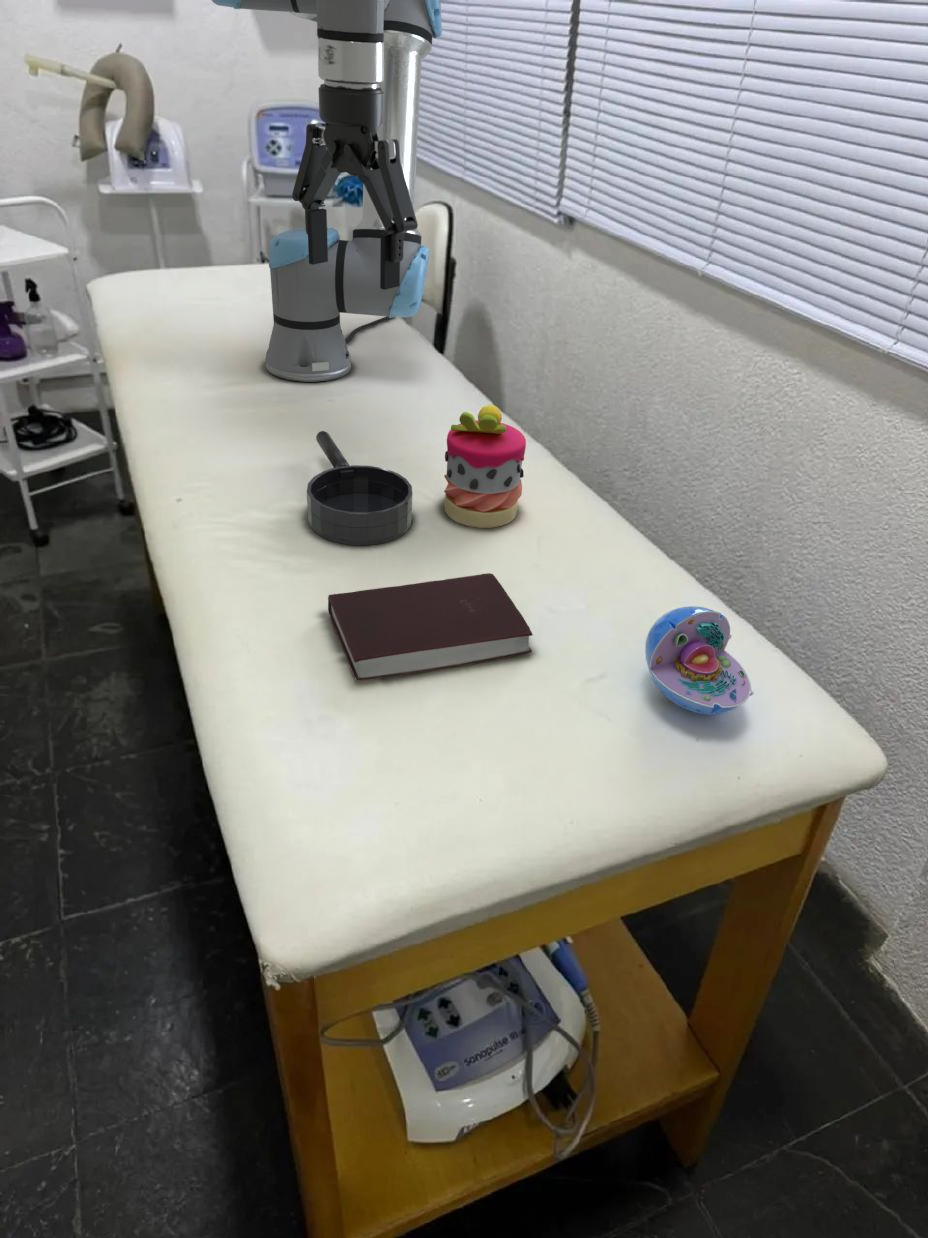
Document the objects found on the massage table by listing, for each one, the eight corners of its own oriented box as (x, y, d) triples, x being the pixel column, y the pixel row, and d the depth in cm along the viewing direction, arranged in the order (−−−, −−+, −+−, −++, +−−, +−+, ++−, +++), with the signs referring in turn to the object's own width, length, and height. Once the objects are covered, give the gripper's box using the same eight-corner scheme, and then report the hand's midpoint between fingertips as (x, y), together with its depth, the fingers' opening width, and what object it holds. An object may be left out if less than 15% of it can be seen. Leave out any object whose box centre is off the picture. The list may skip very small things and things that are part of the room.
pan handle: (354, 480, 115) (354, 467, 114) (340, 482, 114) (339, 468, 113) (328, 440, 124) (327, 428, 123) (314, 442, 124) (314, 429, 123)
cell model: (685, 748, 81) (709, 669, 75) (616, 672, 89) (633, 596, 84) (766, 723, 84) (795, 646, 79) (693, 652, 93) (714, 579, 87)
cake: (443, 489, 120) (449, 386, 111) (518, 494, 120) (530, 392, 111) (439, 525, 112) (446, 417, 103) (519, 531, 112) (532, 424, 103)
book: (327, 614, 94) (326, 589, 92) (490, 590, 100) (492, 567, 98) (354, 685, 85) (353, 660, 83) (531, 655, 91) (535, 631, 89)
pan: (425, 536, 109) (427, 505, 106) (323, 552, 104) (322, 520, 102) (392, 489, 119) (392, 460, 116) (297, 502, 114) (295, 471, 112)
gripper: (257, 71, 102) (269, 257, 115) (405, 99, 90) (401, 303, 103) (305, 70, 107) (312, 248, 120) (452, 97, 95) (442, 292, 107)
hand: (353, 274), depth 111 cm, fingers open, 13 cm apart
